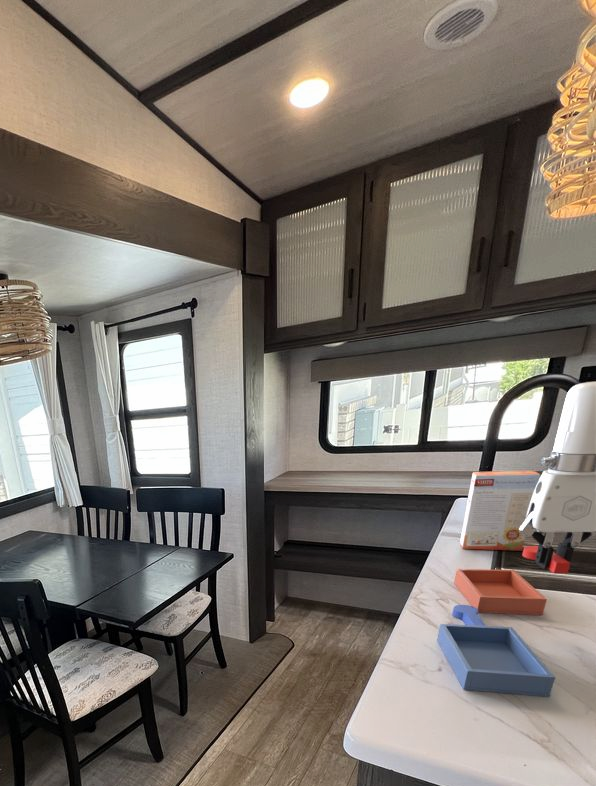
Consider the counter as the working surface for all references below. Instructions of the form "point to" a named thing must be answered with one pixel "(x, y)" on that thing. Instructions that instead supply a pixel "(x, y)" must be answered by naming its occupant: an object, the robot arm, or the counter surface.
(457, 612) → the blue keyhole shape
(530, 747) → the counter surface
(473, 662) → the blue bin
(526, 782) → the counter surface
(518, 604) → the terracotta bin
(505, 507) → the cracker box
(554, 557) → the red keyhole shape
